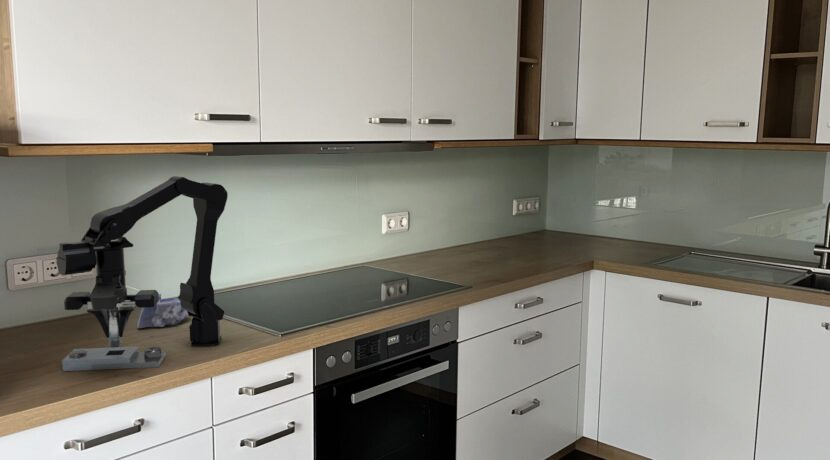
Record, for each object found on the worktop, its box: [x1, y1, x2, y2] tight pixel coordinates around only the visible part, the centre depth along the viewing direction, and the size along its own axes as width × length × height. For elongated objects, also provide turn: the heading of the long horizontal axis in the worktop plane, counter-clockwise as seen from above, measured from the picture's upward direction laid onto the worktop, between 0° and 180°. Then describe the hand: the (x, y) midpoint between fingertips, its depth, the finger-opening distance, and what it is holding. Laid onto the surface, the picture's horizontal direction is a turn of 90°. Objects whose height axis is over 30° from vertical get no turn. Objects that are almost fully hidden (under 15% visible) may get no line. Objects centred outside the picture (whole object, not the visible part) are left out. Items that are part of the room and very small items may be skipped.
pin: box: [107, 305, 122, 348], centre depth 156 cm, size 2×2×9 cm
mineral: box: [136, 293, 190, 329], centre depth 188 cm, size 14×10×10 cm
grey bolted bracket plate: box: [61, 346, 167, 372], centre depth 157 cm, size 20×8×3 cm, turn 99°
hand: (114, 336), depth 157 cm, fingers closed on pin, 2 cm apart
